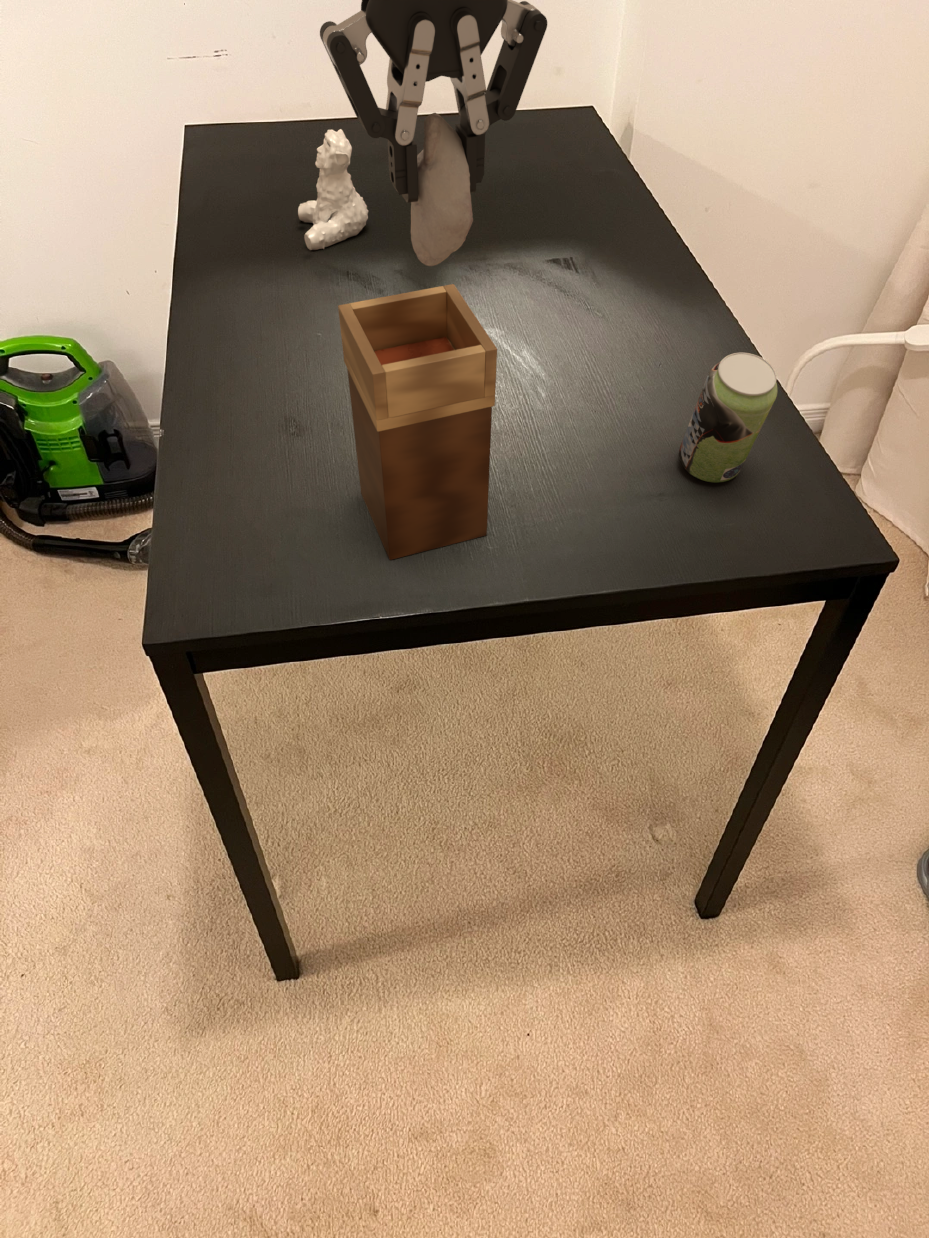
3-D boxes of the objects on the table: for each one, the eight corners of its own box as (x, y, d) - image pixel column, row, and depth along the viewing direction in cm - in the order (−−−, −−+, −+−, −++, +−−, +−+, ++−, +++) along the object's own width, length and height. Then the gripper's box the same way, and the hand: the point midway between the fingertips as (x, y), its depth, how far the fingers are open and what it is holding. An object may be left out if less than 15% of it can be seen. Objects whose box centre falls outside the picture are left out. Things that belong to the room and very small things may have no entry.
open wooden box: (453, 340, 72) (453, 283, 68) (495, 406, 67) (497, 348, 63) (344, 362, 70) (337, 305, 66) (377, 432, 64) (372, 374, 61)
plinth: (452, 471, 83) (452, 341, 72) (487, 535, 77) (492, 405, 67) (360, 493, 81) (346, 362, 70) (389, 560, 75) (378, 430, 65)
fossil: (478, 278, 61) (482, 126, 54) (433, 290, 60) (430, 136, 53) (443, 241, 65) (442, 92, 57) (400, 251, 64) (392, 101, 56)
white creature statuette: (297, 217, 114) (283, 117, 105) (362, 209, 115) (354, 111, 106) (307, 252, 108) (293, 151, 99) (376, 244, 110) (368, 143, 100)
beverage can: (714, 439, 86) (746, 331, 77) (762, 485, 82) (801, 376, 73) (661, 457, 84) (687, 349, 75) (707, 505, 80) (740, 396, 71)
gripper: (315, -119, 41) (349, 236, 55) (588, -138, 44) (557, 202, 58) (281, -151, 46) (320, 184, 59) (531, -167, 49) (514, 155, 62)
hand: (437, 191), depth 58 cm, fingers closed on fossil, 3 cm apart
